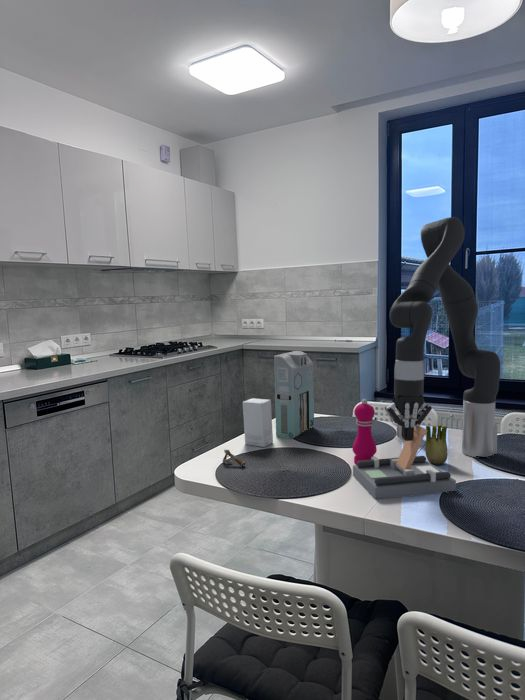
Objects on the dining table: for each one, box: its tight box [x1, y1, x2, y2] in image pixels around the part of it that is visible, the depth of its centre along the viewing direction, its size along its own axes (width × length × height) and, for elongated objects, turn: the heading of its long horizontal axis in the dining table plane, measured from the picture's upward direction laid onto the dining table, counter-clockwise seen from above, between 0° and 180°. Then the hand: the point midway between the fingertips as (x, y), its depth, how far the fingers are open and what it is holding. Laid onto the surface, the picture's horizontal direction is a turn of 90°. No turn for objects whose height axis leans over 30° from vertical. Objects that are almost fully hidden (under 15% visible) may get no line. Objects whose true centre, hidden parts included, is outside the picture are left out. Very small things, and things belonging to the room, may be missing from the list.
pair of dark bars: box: [356, 455, 452, 485], centre depth 126 cm, size 21×15×2 cm
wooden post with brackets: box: [222, 449, 247, 468], centre depth 144 cm, size 2×8×4 cm, turn 57°
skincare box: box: [242, 397, 274, 448], centre depth 163 cm, size 8×7×16 cm
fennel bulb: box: [424, 424, 449, 466], centre depth 140 cm, size 6×5×12 cm
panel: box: [352, 459, 457, 500], centre depth 126 cm, size 22×16×5 cm
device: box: [273, 350, 315, 439], centre depth 175 cm, size 16×8×30 cm, turn 147°
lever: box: [395, 425, 428, 473], centre depth 126 cm, size 2×6×13 cm, turn 9°
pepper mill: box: [352, 398, 377, 465], centre depth 142 cm, size 7×7×20 cm
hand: (407, 440), depth 125 cm, fingers closed
